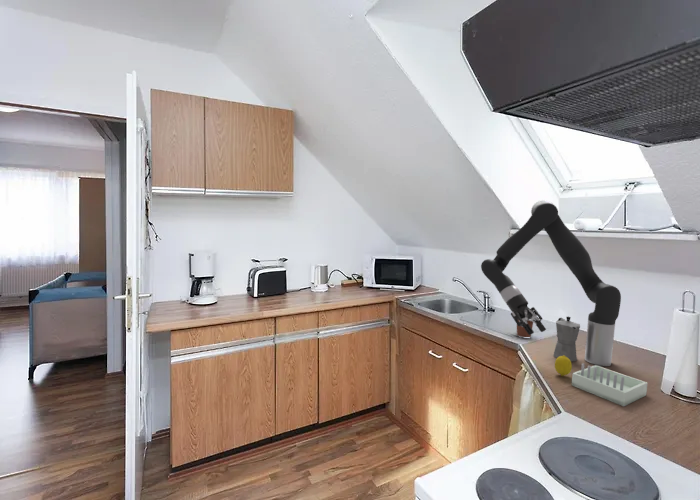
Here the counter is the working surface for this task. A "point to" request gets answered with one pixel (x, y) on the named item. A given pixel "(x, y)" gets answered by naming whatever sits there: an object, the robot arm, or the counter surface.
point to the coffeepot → (566, 338)
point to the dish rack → (609, 384)
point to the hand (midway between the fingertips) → (537, 332)
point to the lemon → (563, 365)
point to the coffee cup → (521, 331)
